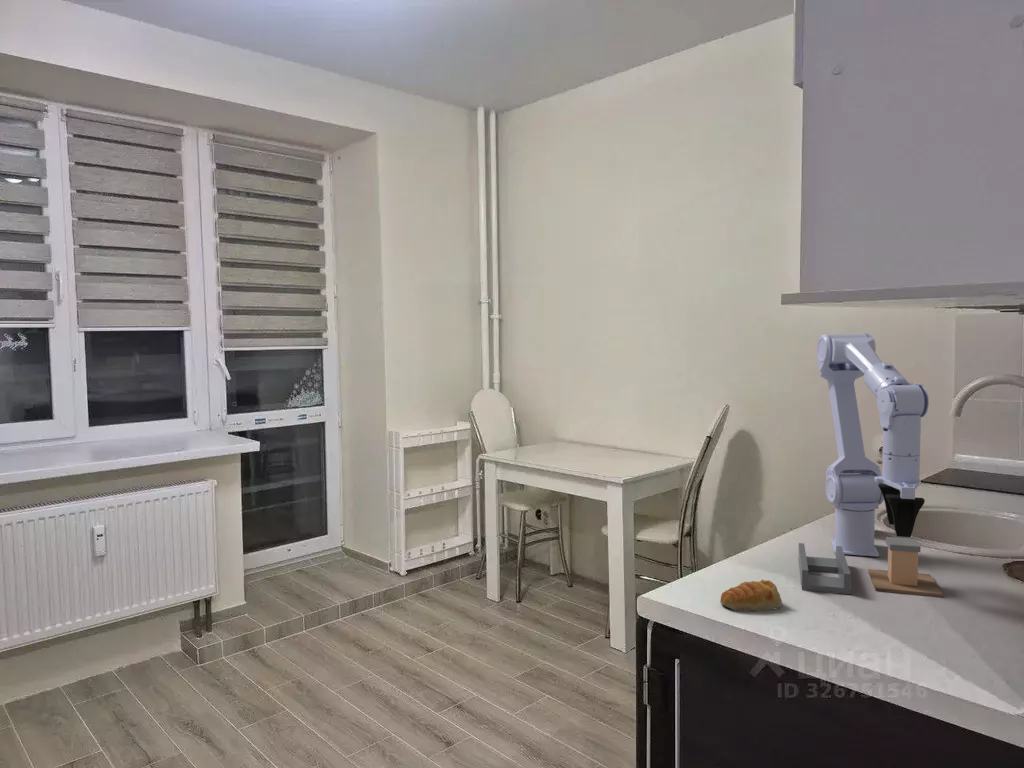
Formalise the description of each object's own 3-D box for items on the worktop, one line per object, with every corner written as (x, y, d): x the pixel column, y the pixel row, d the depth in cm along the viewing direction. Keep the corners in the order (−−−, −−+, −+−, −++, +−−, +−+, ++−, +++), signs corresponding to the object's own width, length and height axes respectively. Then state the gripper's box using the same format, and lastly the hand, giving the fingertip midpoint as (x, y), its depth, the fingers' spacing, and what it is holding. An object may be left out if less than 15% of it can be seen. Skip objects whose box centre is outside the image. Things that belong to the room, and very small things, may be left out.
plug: (885, 575, 127) (886, 536, 126) (914, 577, 125) (915, 539, 125) (889, 584, 122) (890, 544, 122) (919, 586, 121) (920, 546, 120)
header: (798, 560, 137) (798, 543, 137) (841, 564, 134) (841, 546, 134) (801, 589, 122) (802, 569, 122) (850, 594, 120) (850, 574, 119)
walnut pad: (868, 571, 130) (868, 568, 130) (930, 576, 127) (930, 574, 127) (875, 590, 121) (875, 587, 121) (942, 597, 117) (942, 594, 117)
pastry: (734, 616, 112) (734, 593, 112) (711, 601, 118) (711, 579, 118) (785, 609, 114) (785, 586, 114) (760, 595, 121) (760, 573, 121)
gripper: (869, 445, 131) (868, 517, 132) (881, 460, 117) (880, 540, 118) (912, 447, 129) (911, 520, 130) (930, 462, 115) (928, 543, 116)
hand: (899, 530), depth 124 cm, fingers open, 7 cm apart
